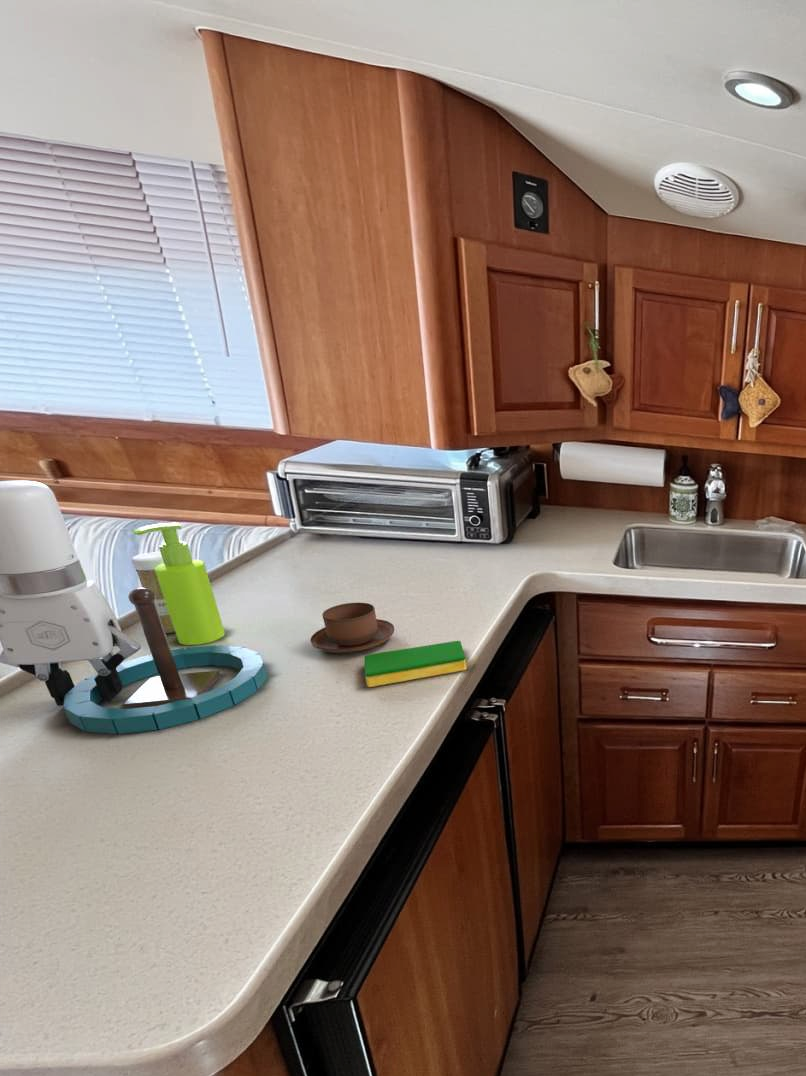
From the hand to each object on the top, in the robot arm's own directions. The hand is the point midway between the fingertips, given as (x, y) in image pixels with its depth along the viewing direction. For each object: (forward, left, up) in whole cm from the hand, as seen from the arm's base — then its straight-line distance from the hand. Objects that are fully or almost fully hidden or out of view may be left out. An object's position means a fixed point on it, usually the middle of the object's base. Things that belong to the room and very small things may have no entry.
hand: (90, 697), depth 89 cm
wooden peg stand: (+9, 0, -1) cm, 9 cm away
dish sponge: (+40, 0, -1) cm, 40 cm away
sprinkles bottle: (0, +24, -1) cm, 24 cm away
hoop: (+9, 0, -1) cm, 9 cm away
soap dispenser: (+5, +19, -1) cm, 20 cm away
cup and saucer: (+29, +12, -1) cm, 32 cm away
